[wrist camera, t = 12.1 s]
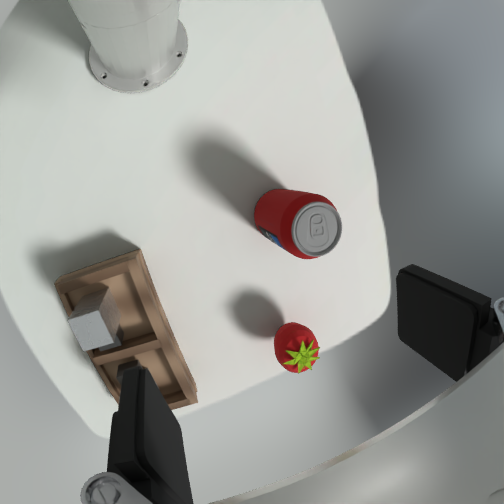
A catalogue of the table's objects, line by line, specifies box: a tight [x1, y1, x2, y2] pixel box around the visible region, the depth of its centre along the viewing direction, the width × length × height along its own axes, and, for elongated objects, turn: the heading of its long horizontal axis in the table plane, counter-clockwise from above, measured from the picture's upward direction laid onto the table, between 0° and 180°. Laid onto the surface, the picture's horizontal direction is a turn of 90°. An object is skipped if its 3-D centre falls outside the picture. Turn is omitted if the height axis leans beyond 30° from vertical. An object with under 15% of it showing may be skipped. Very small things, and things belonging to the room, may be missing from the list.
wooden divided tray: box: [54, 249, 198, 410], centre depth 35 cm, size 22×12×9 cm, turn 14°
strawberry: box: [274, 322, 320, 373], centre depth 41 cm, size 6×8×10 cm
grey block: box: [67, 287, 124, 352], centre depth 33 cm, size 6×4×7 cm, turn 15°
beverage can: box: [254, 189, 342, 259], centre depth 35 cm, size 7×7×12 cm
